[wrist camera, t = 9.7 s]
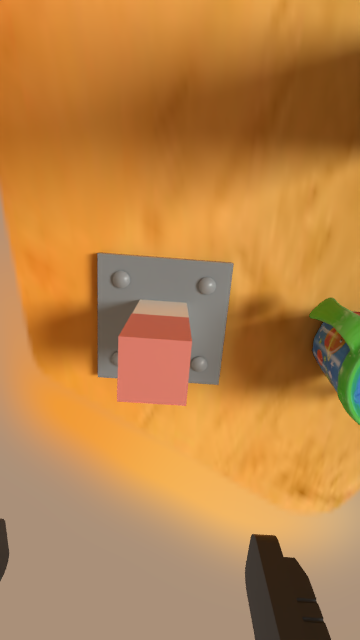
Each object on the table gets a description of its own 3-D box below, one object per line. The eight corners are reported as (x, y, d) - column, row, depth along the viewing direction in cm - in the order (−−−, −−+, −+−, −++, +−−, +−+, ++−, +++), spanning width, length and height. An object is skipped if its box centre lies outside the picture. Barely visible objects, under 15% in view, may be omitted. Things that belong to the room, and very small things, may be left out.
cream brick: (186, 302, 32) (188, 318, 26) (183, 346, 33) (184, 369, 27) (140, 299, 31) (131, 314, 26) (138, 343, 33) (130, 366, 27)
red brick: (188, 317, 26) (192, 341, 20) (184, 369, 27) (186, 405, 21) (131, 313, 26) (118, 336, 20) (129, 365, 27) (117, 401, 21)
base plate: (231, 262, 31) (234, 263, 30) (217, 380, 35) (218, 386, 34) (100, 252, 31) (96, 253, 30) (100, 373, 35) (97, 378, 34)
